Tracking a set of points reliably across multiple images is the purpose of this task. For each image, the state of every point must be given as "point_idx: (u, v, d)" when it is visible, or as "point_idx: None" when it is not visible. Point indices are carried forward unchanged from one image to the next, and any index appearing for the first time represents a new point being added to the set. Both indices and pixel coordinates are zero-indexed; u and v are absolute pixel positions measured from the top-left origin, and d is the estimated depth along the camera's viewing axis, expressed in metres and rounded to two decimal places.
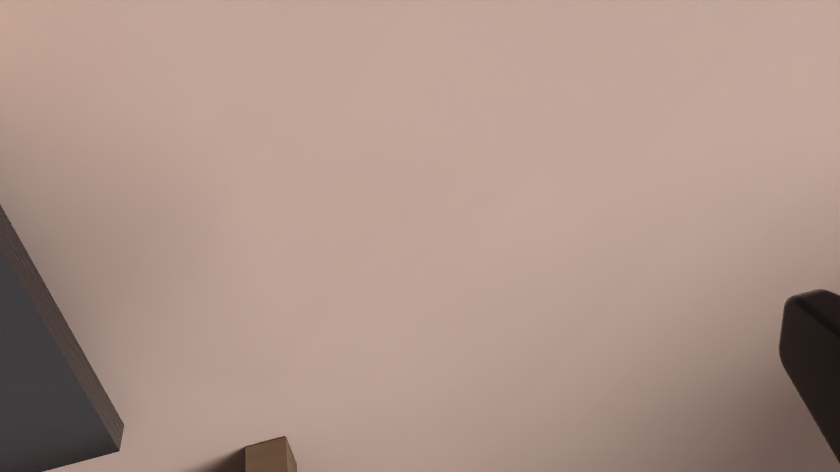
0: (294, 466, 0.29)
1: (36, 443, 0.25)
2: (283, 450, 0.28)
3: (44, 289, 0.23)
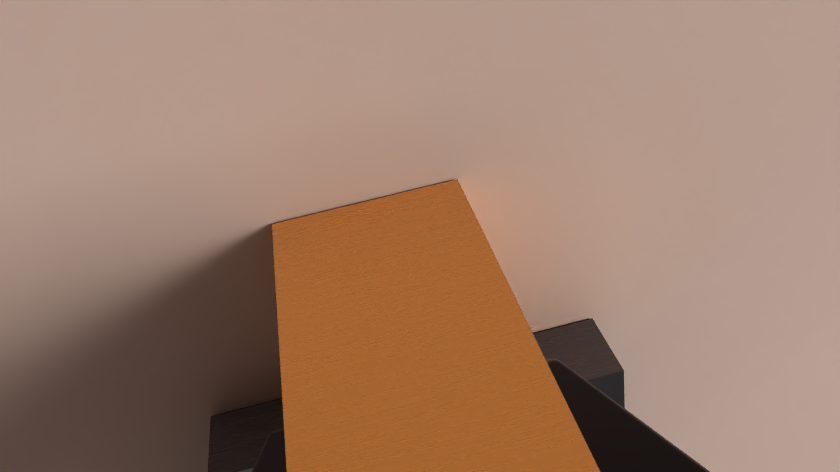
0: None
1: None
2: None
3: None
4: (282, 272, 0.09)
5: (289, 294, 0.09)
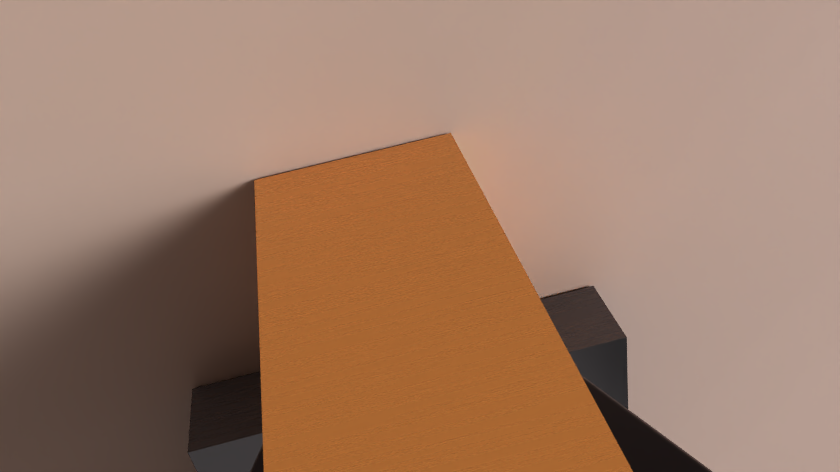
0: None
1: None
2: None
3: None
4: (264, 226, 0.09)
5: (270, 247, 0.08)
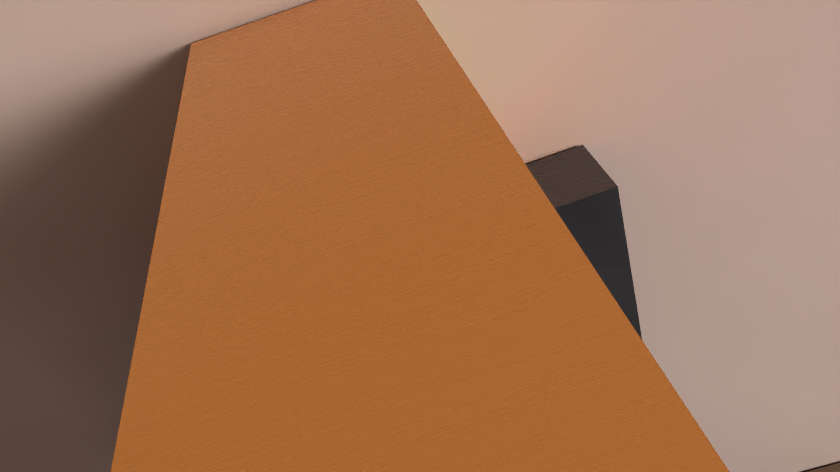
0: None
1: None
2: None
3: None
4: (193, 76, 0.08)
5: (196, 90, 0.08)
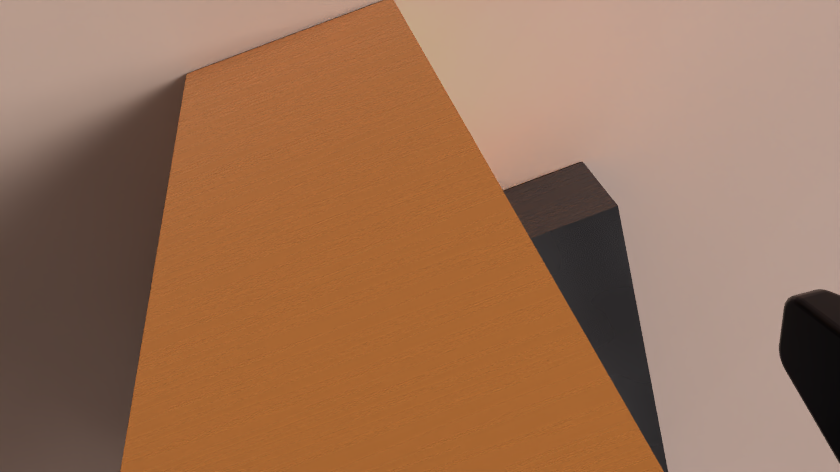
0: None
1: None
2: None
3: None
4: (188, 111, 0.08)
5: (191, 128, 0.08)
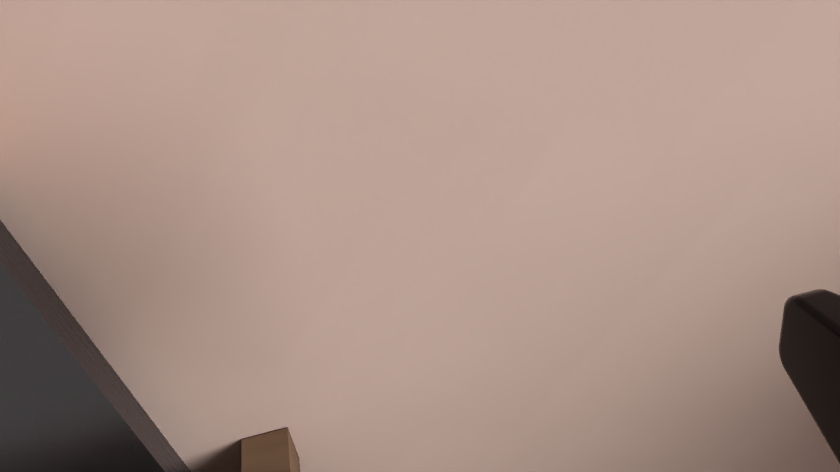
0: (297, 461, 0.25)
1: None
2: (285, 443, 0.24)
3: (121, 385, 0.23)
4: None
5: None
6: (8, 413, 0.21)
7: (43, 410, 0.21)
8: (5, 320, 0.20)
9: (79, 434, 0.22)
